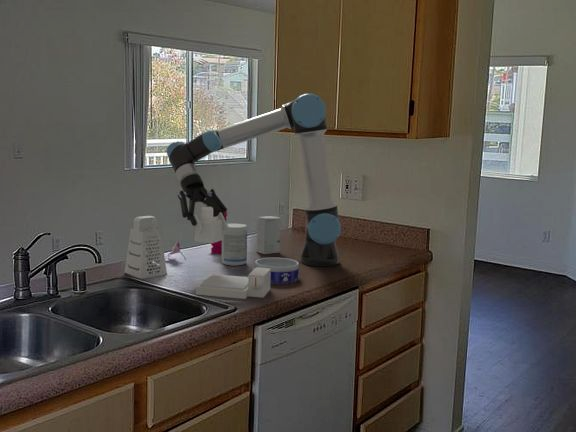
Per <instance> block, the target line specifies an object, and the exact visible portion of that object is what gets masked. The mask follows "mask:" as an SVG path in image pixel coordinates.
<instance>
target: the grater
mask: <svg viewBox="0 0 576 432" xmlns="http://www.w3.org/2000/svg"><path fill="white" fill-rule="evenodd" d="M150 218H151V226H142V227H140V224H141V223H140V222H141V220H143V219H150ZM127 246H128V247H127V253H126V259H125V268H124V274H126V273H127V275H129V274H130V276H132V277H134V278H138V279H139V280H141V279H142V280H143V279H147V278H153V277H159V276H165V274H166V275H168V270H167V265H166V259H165V258H166V256H165V251H164V244H163V236H162V230H161V229H159V219H158V218H157V217H156V216H153V215H144V216H141V215H140V216H136V217H135V218H134V219H133V228H130V231H129V239H128V245H127Z"/></svg>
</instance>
